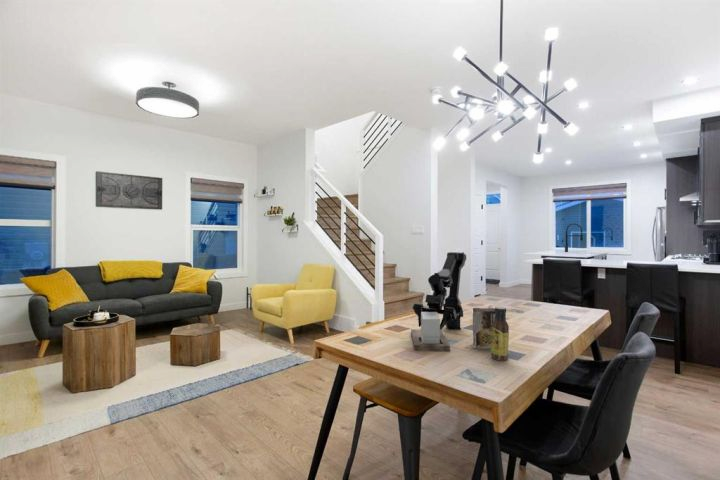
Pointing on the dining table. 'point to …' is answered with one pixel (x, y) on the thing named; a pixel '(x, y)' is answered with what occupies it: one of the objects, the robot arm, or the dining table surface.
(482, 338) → the coffee box
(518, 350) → the dining table surface
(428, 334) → the supplement box
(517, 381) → the dining table surface
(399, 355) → the dining table surface
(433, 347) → the cutout board
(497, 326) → the sauce bottle
